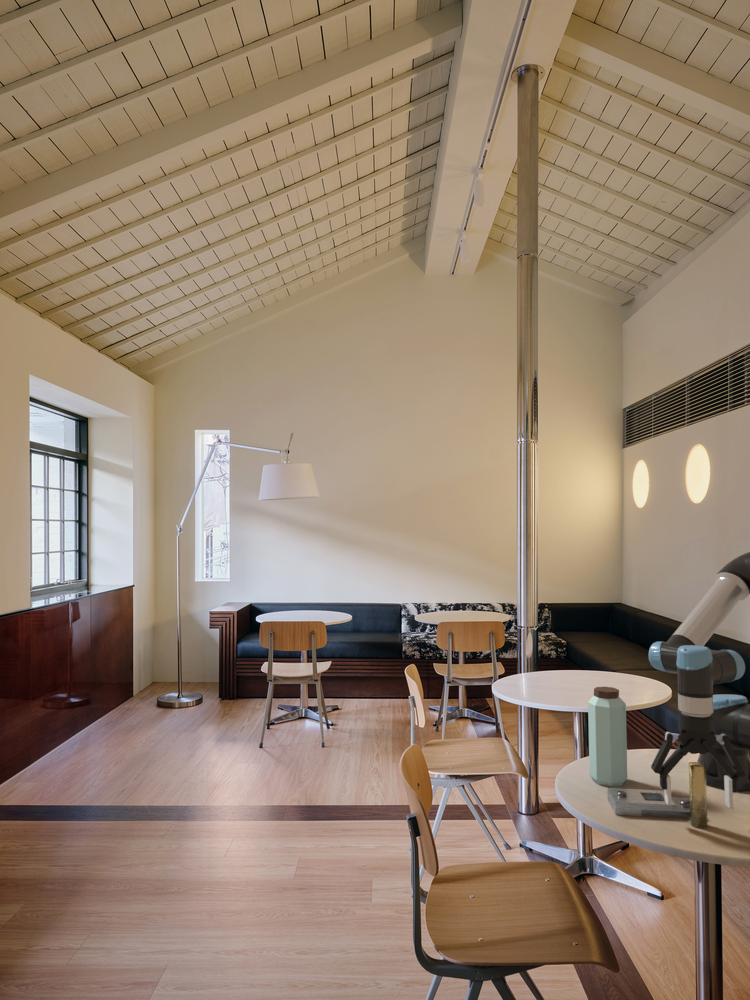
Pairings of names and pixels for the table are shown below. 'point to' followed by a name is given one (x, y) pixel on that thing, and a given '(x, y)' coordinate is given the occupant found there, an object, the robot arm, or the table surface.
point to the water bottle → (607, 737)
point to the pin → (698, 795)
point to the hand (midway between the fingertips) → (698, 804)
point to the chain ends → (647, 803)
